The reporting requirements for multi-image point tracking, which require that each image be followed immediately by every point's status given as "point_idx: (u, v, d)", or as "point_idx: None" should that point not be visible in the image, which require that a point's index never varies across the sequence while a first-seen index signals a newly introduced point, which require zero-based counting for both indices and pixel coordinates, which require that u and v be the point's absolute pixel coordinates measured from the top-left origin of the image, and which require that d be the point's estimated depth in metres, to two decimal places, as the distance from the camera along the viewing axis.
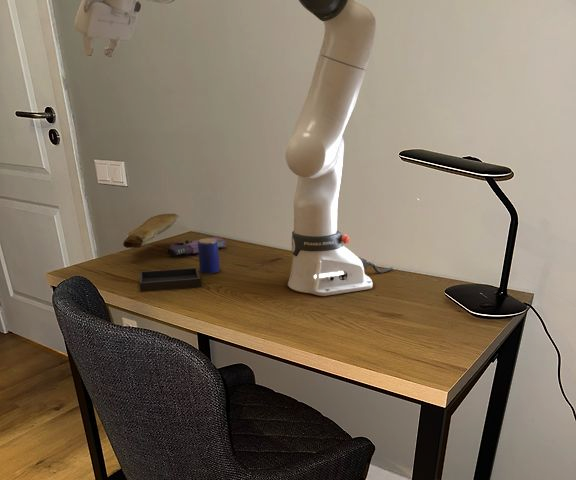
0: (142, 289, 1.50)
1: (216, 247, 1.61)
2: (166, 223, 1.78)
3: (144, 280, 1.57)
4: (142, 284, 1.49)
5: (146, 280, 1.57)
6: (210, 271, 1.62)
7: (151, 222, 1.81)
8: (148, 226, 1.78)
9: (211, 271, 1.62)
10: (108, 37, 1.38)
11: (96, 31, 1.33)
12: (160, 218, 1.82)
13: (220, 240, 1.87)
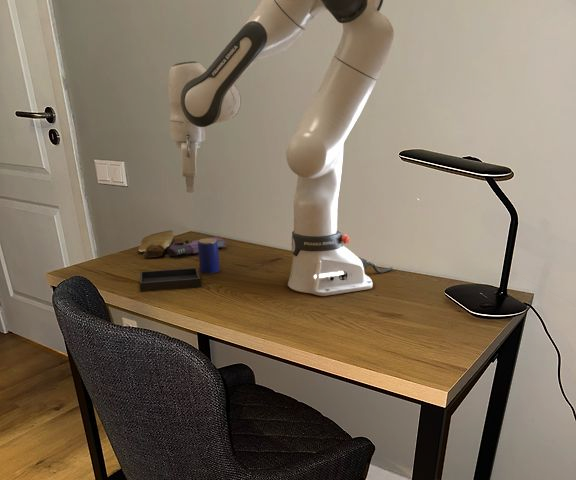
0: (142, 289, 1.50)
1: (216, 247, 1.61)
2: (171, 236, 1.88)
3: (144, 280, 1.57)
4: (142, 284, 1.49)
5: (146, 280, 1.57)
6: (210, 271, 1.62)
7: (153, 238, 1.89)
8: (155, 240, 1.86)
9: (211, 271, 1.62)
10: None
11: None
12: (159, 234, 1.91)
13: (220, 240, 1.87)
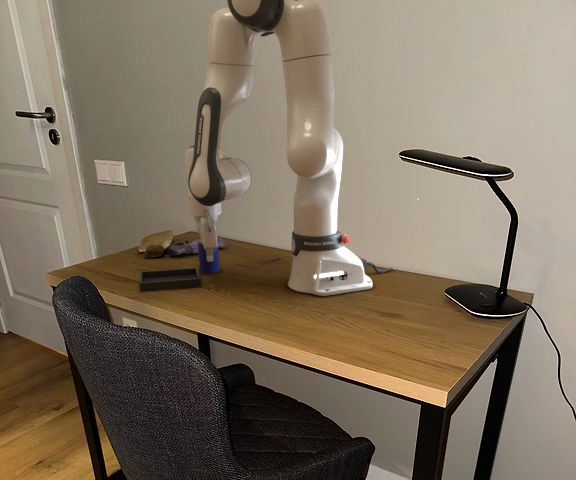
0: (142, 289, 1.50)
1: None
2: (171, 236, 1.88)
3: (144, 280, 1.57)
4: (142, 284, 1.49)
5: (146, 280, 1.57)
6: (210, 271, 1.62)
7: (153, 238, 1.89)
8: (155, 240, 1.86)
9: (211, 271, 1.62)
10: None
11: None
12: (159, 234, 1.91)
13: (220, 240, 1.87)
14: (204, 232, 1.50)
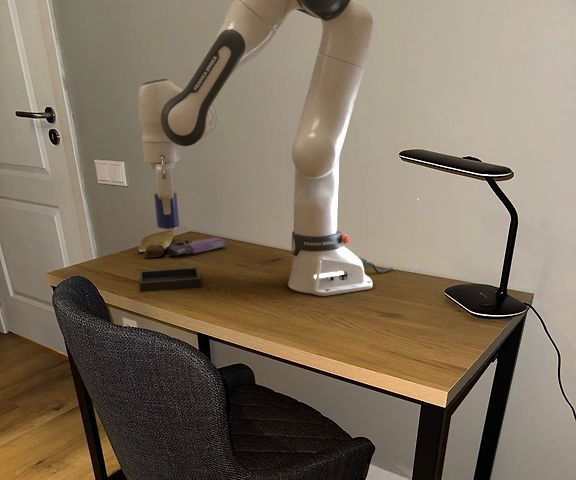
0: (142, 289, 1.50)
1: (174, 199, 1.46)
2: (171, 236, 1.88)
3: (144, 280, 1.57)
4: (142, 284, 1.49)
5: (146, 280, 1.57)
6: (168, 226, 1.47)
7: (153, 238, 1.89)
8: (155, 240, 1.86)
9: (169, 226, 1.47)
10: None
11: None
12: (159, 234, 1.91)
13: (220, 240, 1.87)
14: (158, 179, 1.35)
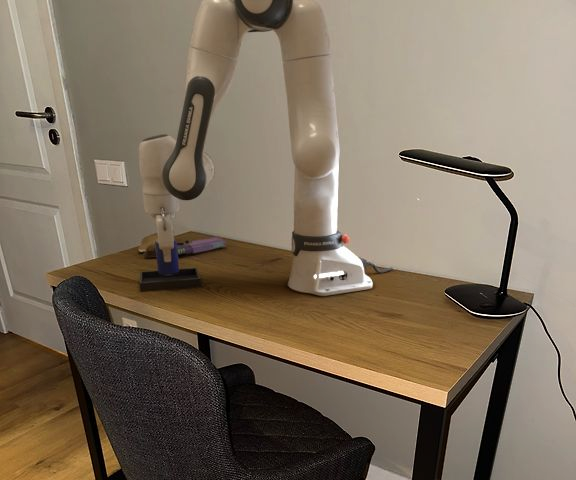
0: (142, 289, 1.50)
1: (174, 247, 1.50)
2: None
3: (144, 280, 1.57)
4: (142, 284, 1.49)
5: (146, 280, 1.57)
6: (168, 272, 1.52)
7: (154, 238, 1.89)
8: (155, 240, 1.86)
9: (169, 272, 1.52)
10: None
11: None
12: None
13: (220, 240, 1.87)
14: (159, 230, 1.40)
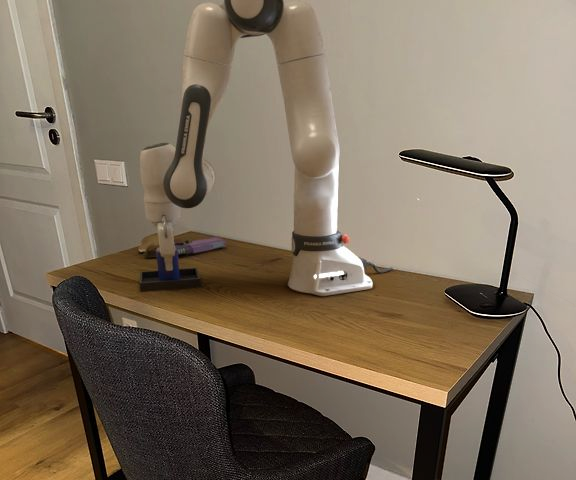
0: (142, 289, 1.50)
1: (175, 256, 1.51)
2: None
3: (144, 280, 1.57)
4: (142, 284, 1.49)
5: (146, 280, 1.57)
6: None
7: (154, 238, 1.89)
8: (155, 240, 1.86)
9: None
10: None
11: None
12: None
13: (220, 240, 1.87)
14: (160, 238, 1.41)
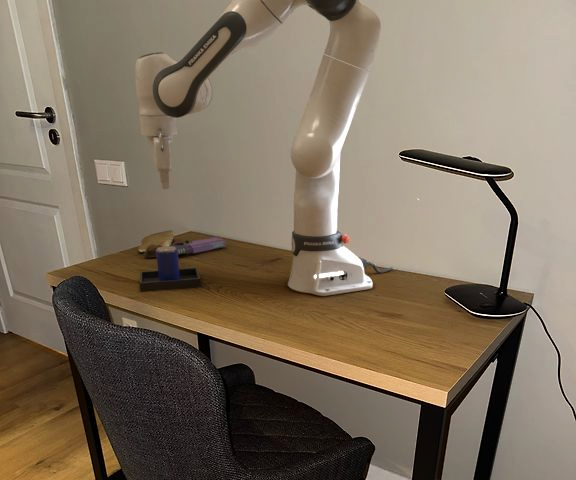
0: (142, 289, 1.50)
1: (175, 256, 1.51)
2: (171, 236, 1.88)
3: (144, 280, 1.57)
4: (142, 284, 1.49)
5: (146, 280, 1.57)
6: None
7: (154, 238, 1.89)
8: (155, 240, 1.86)
9: None
10: None
11: None
12: (159, 234, 1.91)
13: (220, 240, 1.87)
14: (156, 151, 1.37)
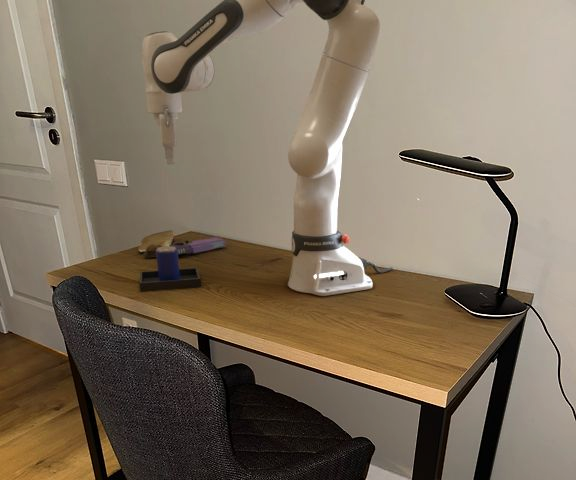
0: (142, 289, 1.50)
1: (175, 256, 1.51)
2: (171, 236, 1.88)
3: (144, 280, 1.57)
4: (142, 284, 1.49)
5: (146, 280, 1.57)
6: None
7: (154, 238, 1.89)
8: (155, 240, 1.86)
9: None
10: None
11: None
12: (159, 234, 1.91)
13: (220, 240, 1.87)
14: (162, 126, 1.43)
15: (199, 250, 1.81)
